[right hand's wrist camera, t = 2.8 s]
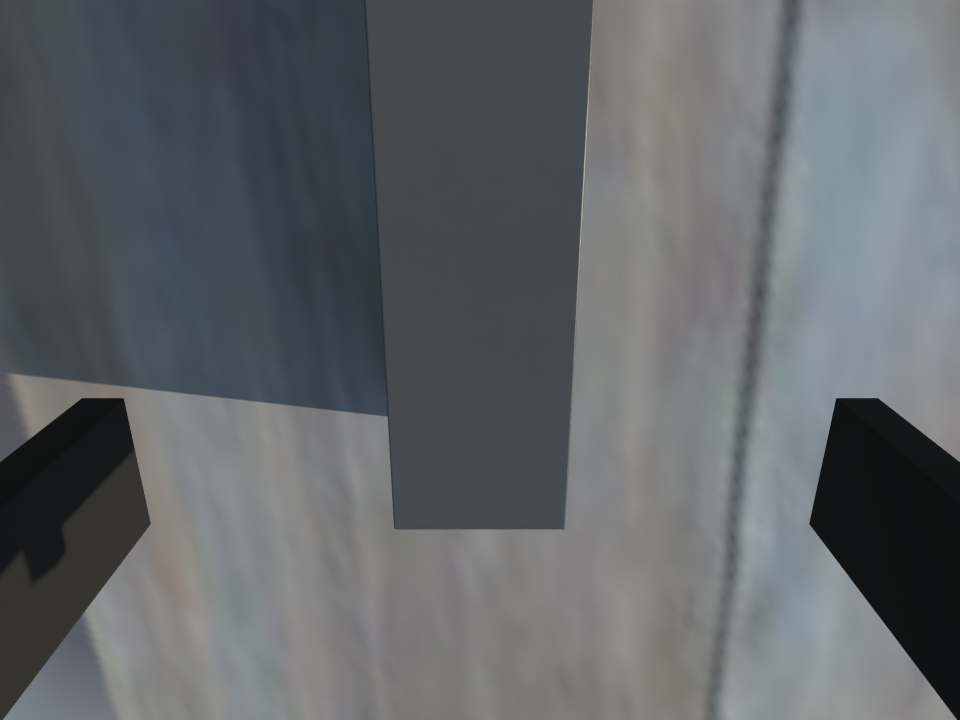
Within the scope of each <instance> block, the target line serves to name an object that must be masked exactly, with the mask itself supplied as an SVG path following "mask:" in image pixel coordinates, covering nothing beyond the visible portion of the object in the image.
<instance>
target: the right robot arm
mask: <svg viewBox="0 0 960 720" xmlns="http://www.w3.org/2000/svg"><path fill="white" fill-rule="evenodd" d="M150 524H151V523H150V518H149V514H148V509H147V505H146V500H145V495H144V491H143V486H142V481H141V477H140V472H139V467H138V463H137V458H136V453H135V449H134V444H133V440H132V435H131V430H130V426H129V421H128V416H127V412H126V407H125V402H124V398H82V399H81V400H79V401H78V402H77V403H75V404H74V405H73V406H72V407H70V408H69V409H68V410H66V411H65V412H64V413H63V414H61V415H60V416H59V417H58V418H56V419H55V420H54V421H52V422H51V423H50V424H49V425H47V426H46V427H45V428H43V429H42V430H41V431H40V432H38V433H37V434H36V435H34V436H33V437H32V438H31V439H29V440H28V441H27V442H26V443H24V444H23V445H22V446H20V447H19V448H18V449H17V450H15V451H14V452H13V453H11V454H10V455H9V456H8V457H6V458H5V459H4V460H3V461H1V462H0V720H3V719H4V717H5V716H6V715H7V713H8V712H9V711H10V709H11V708H12V707H13V705H14V704H15V703H16V702H17V700H18V699H19V698H20V696H21V695H22V694H23V692H24V691H25V690H26V688H27V687H28V686H29V684H30V683H31V682H32V680H33V679H34V678H35V676H36V675H37V674H38V672H39V671H40V670H41V668H42V667H43V666H44V664H45V663H46V662H47V660H48V659H49V658H50V657H51V655H52V654H53V653H54V651H55V650H56V649H57V647H58V646H59V645H60V643H61V642H62V641H63V639H64V638H65V637H66V635H67V634H68V633H69V631H70V630H71V629H72V627H73V626H74V625H75V623H76V622H77V621H78V619H79V618H80V617H81V615H82V614H83V613H84V611H85V610H86V609H87V608H88V606H89V605H90V604H91V602H92V601H93V600H94V598H95V597H96V596H97V594H98V593H99V592H100V590H101V589H102V588H103V586H104V585H105V584H106V582H107V581H108V580H109V578H110V577H111V576H112V574H113V573H114V572H115V570H116V569H117V568H118V566H119V565H120V564H121V562H122V561H123V560H124V559H125V557H126V556H127V555H128V553H129V552H130V551H131V549H132V548H133V547H134V545H135V544H136V543H137V541H138V540H139V539H140V537H141V536H142V535H143V533H144V532H145V531H146V529H147V528H148V527H149V525H150ZM809 524H810V525H811V527H812V528H813V529H814V531H815V532H816V533H817V535H818V536H819V537H820V539H821V540H822V541H823V543H824V544H825V545H826V547H827V548H828V549H829V551H830V552H831V553H832V555H833V556H834V557H835V559H836V560H837V561H838V562H839V564H840V565H841V566H842V568H843V569H844V570H845V572H846V573H847V574H848V576H849V577H850V578H851V580H852V581H853V582H854V584H855V585H856V586H857V588H858V589H859V590H860V592H861V593H862V594H863V596H864V597H865V598H866V600H867V601H868V602H869V604H870V605H871V606H872V608H873V609H874V610H875V611H876V613H877V614H878V615H879V617H880V618H881V619H882V621H883V622H884V623H885V625H886V626H887V627H888V629H889V630H890V631H891V633H892V634H893V635H894V637H895V638H896V639H897V641H898V642H899V643H900V645H901V646H902V647H903V649H904V650H905V651H906V653H907V654H908V655H909V657H910V658H911V659H912V660H913V662H914V663H915V664H916V666H917V667H918V668H919V670H920V671H921V672H922V674H923V675H924V676H925V678H926V679H927V680H928V682H929V683H930V684H931V686H932V687H933V688H934V690H935V691H936V692H937V694H938V695H939V696H940V698H941V699H942V700H943V702H944V703H945V704H946V706H947V707H948V708H949V710H950V711H951V712H952V713H953V715H954V716H955V717H956V719H957V720H960V462H959V461H958V460H956V459H955V458H954V457H952V456H951V455H950V454H949V453H947V452H946V451H945V450H943V449H942V448H941V447H940V446H938V445H937V444H936V443H935V442H933V441H932V440H931V439H929V438H928V437H927V436H926V435H924V434H923V433H922V432H920V431H919V430H918V429H917V428H915V427H914V426H913V425H911V424H910V423H909V422H908V421H906V420H905V419H904V418H902V417H901V416H900V415H899V414H897V413H896V412H895V411H894V410H892V409H891V408H890V407H888V406H887V405H886V404H885V403H883V402H882V401H881V400H879V399H878V398H836V402H835V407H834V412H833V416H832V421H831V426H830V430H829V435H828V440H827V444H826V449H825V453H824V458H823V463H822V467H821V472H820V477H819V481H818V486H817V491H816V495H815V500H814V505H813V509H812V514H811V518H810V523H809Z"/></svg>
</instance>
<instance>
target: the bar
mask: <svg viewBox="0 0 960 720" xmlns="http://www.w3.org/2000/svg"><path fill="white" fill-rule="evenodd" d="M364 2H365V19H366V37H367V55H368V73H369V90H370V108H371V126H372V144H373V161H374V179H375V197H376V215H377V232H378V250H379V268H380V286H381V303H382V321H383V339H384V357H385V374H386V392H387V410H388V427H389V445H390V463H391V481H392V498H393V516H394V528H395V529H565V522H566V504H567V486H568V468H569V450H570V432H571V414H572V396H573V378H574V360H575V342H576V325H577V307H578V289H579V271H580V253H581V235H582V217H583V199H584V181H585V163H586V145H587V127H588V109H589V91H590V74H591V56H592V38H593V20H594V2H595V0H364Z"/></svg>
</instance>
